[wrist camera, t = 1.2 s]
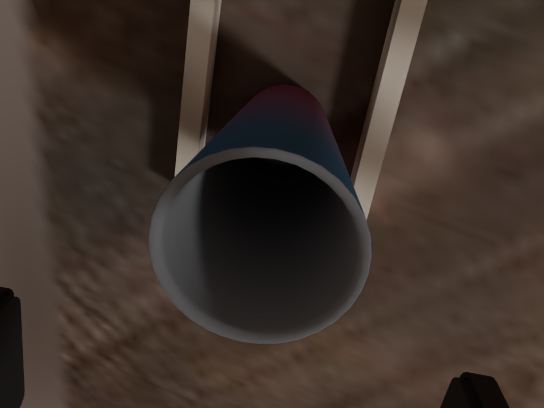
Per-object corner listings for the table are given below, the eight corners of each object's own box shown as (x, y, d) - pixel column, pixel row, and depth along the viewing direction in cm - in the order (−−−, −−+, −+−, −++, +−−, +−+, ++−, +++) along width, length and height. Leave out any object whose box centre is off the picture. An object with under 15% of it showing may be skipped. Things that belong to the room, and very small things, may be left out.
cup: (330, 55, 26) (350, 123, 13) (351, 169, 29) (387, 328, 15) (212, 83, 28) (114, 173, 14) (243, 191, 30) (185, 357, 16)
